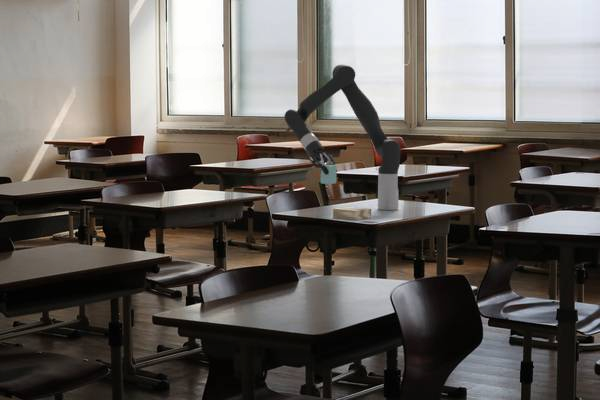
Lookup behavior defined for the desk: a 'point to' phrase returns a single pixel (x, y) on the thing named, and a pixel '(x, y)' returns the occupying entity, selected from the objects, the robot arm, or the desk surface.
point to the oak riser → (352, 213)
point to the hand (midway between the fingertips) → (331, 173)
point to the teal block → (329, 175)
